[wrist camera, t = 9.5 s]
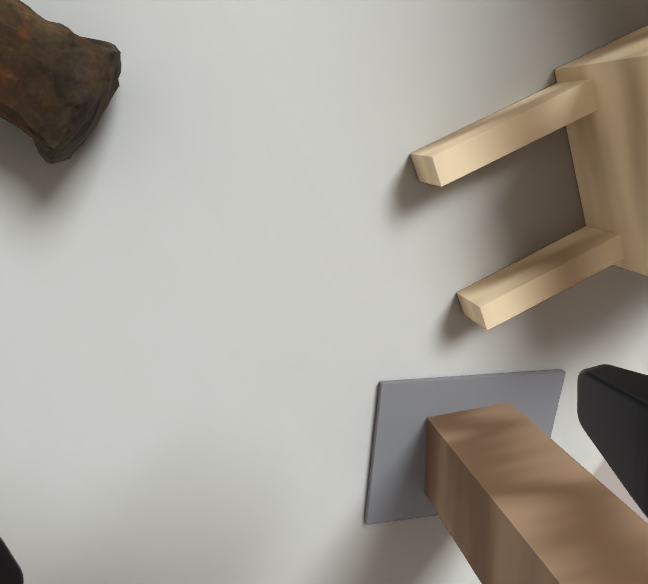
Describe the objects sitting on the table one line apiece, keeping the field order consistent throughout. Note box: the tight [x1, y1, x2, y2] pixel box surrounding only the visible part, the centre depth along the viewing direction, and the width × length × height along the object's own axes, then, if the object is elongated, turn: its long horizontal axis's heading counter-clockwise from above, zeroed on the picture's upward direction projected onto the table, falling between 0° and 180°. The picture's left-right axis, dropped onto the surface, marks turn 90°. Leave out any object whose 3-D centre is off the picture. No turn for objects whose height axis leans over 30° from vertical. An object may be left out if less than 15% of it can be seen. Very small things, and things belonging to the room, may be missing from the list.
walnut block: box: [424, 402, 648, 584], centre depth 20 cm, size 4×4×12 cm
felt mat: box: [365, 369, 565, 525], centre depth 26 cm, size 10×8×1 cm
